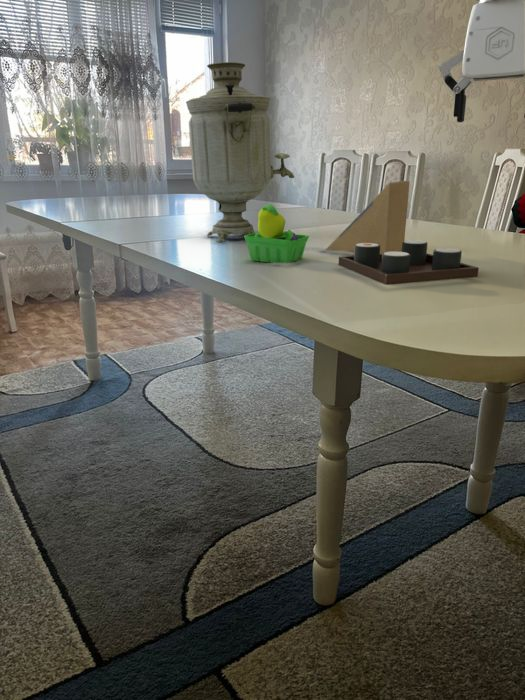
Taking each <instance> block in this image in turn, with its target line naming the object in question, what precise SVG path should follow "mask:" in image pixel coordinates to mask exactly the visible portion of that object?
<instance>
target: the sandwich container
mask: <svg viewBox="0 0 525 700" xmlns="http://www.w3.org/2000/svg"><path fill="white" fill-rule="evenodd" d="M409 194H410V180H398V181H393V182H389V183H388V184H387V185H386V186H385V187H383V188H382V190H381V191H380V192H379V193H378V194H377V196H375V198H374V199H373V200H371V202H370V203H369V204H368V205H367V206H366V207H365V209H363V210H362V211H361V212H360V213H359V214H358V215H357V216H356V217H355V218H354V220H353V221H351V223H350V224H349V225H348V226H347V227H346V228H344V230H343V231H342V232H341V233H340V234H339V235H338V236H337V237H336V238H335V239H334V240H333V241H332V242H331V243H330V244H329V245H328V246H327V247H326V248H325V251H331V250H336V251H343V252H353V253H354V249H355V245H356V244H359V243H374V244H378V245H380V254H383V253H385V252H402V242H403V241H406V239H405V238H406V227H407V218H408V217H407V216H408V207H409V206H408V205H409Z"/></svg>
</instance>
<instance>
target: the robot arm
mask: <svg viewBox="0 0 525 700" xmlns="http://www.w3.org/2000/svg"><path fill="white" fill-rule="evenodd" d="M476 1H477V2H478V3H475V4H474V5H472V8H471V11H470V15H469V19H468V23H467V30H466V35H465V40H464V41H465V42H464V48H463V50H462V51H459V53H457V54H456V55H454V56H452V57H451V58H449V59H447V60H446V61H444V62H443V63H441V64H440V65H439V66H438V69H439V72H440V75H441V76H442V80H443V81H444V83H445V85H446V86H447V87H448V88H449V89H450V90H451V91H452V92H453V93H454V102H453V103H454V104H453V117H454V118H456V122H457V123H463V122H465V116H466V105H467V95H466V90H467V89H468V88H469V87H470V86H471V85H472V83H473V82H485V81H486V82H487V81H497V80H499V81H500V80H512V79H521V78H524V79H525V0H476ZM461 64H462V65H461ZM459 65H461V67H462V68H461V74H462V75H463V76H462V77H461V78H460V80H458V81H457V80H455V78H454V77H453V75H452V69H454V68H456V67H457V66H459ZM523 116H524V117H523V118H524V119H525V114H524V115H523Z"/></svg>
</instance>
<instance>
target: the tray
mask: <svg viewBox="0 0 525 700" xmlns="http://www.w3.org/2000/svg"><path fill="white" fill-rule="evenodd" d="M432 262H433V254H431V253H428V252H427V255H426V264H425V265H419V266H412V265H410V268H409V272H407V273H395V274H387V273H385V272H382V271H381V265H382V254H380V258H379V268H377V269H374V268H371V267H369V266H366V265H363V264H361V263H358V262H356V261H354V255H343V256H338V266H341V267H343V268H345V269H347V270H349V271H352V272H355V273H356V274H360V275H361V276H364V277H367V278H369V279H372V280H374V281H376V282H378V283H381V284H384V285H386V286H387V285H398V284H410V283H422V282H433V281H445V280H455V279H456V280H457V279H467V278H468V279H469V278H477V277H478V276H479V269H480V268H479V267H478V266H475V265H470V264H468V263H463V262H461V263H460V268H456V269H444V270H432Z"/></svg>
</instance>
